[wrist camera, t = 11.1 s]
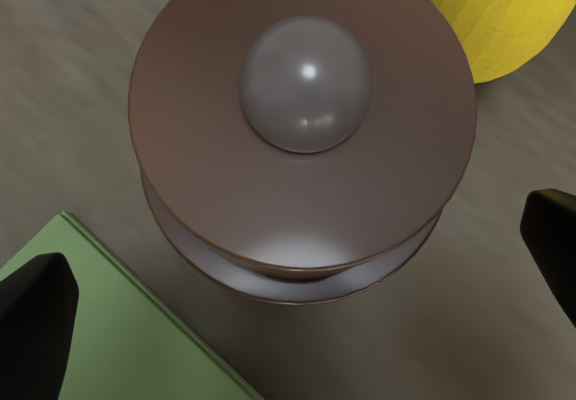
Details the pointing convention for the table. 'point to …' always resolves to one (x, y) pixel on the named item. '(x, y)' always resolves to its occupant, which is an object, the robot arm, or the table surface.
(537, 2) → the lemon
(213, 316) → the table surface
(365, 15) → the pepper mill
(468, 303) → the table surface
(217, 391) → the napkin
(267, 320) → the table surface
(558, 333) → the table surface
